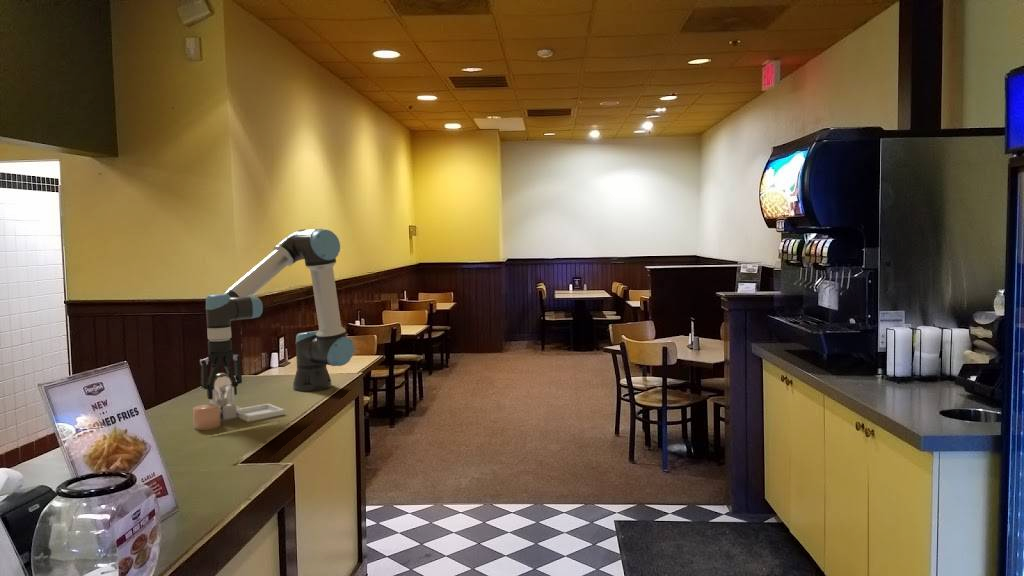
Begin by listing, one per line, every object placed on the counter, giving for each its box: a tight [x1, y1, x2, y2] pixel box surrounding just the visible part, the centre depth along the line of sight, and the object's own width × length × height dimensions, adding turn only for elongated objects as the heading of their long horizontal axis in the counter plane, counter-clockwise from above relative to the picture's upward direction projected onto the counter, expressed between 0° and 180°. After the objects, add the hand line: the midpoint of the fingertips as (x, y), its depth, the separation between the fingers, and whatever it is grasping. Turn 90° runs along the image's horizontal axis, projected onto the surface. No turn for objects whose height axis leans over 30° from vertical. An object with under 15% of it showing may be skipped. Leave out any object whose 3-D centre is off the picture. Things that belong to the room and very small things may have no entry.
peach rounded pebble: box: [192, 403, 222, 431], centre depth 229 cm, size 8×8×7 cm
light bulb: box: [213, 372, 232, 408], centre depth 242 cm, size 7×7×12 cm
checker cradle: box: [208, 399, 239, 422], centre depth 243 cm, size 10×14×5 cm
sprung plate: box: [220, 402, 242, 414], centre depth 243 cm, size 9×9×1 cm
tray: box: [237, 403, 286, 423], centre depth 243 cm, size 13×13×2 cm
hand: (222, 406), depth 243 cm, fingers open, 6 cm apart
